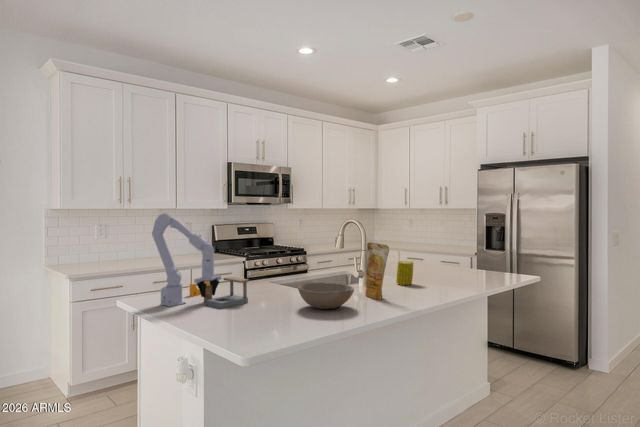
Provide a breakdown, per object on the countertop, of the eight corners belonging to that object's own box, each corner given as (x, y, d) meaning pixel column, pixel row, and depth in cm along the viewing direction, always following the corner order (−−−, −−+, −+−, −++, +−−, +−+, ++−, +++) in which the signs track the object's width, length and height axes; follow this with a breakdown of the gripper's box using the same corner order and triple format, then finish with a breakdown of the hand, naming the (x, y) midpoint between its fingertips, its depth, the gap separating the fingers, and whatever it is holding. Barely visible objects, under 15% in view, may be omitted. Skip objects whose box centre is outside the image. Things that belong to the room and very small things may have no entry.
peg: (207, 303, 214) (207, 286, 214) (202, 302, 216) (202, 285, 216) (213, 301, 217) (213, 285, 217) (208, 300, 219) (208, 284, 219)
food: (403, 285, 271) (415, 288, 263) (389, 282, 266) (400, 285, 257) (409, 261, 272) (420, 263, 263) (394, 257, 266) (405, 260, 258)
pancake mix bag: (372, 293, 238) (372, 241, 237) (390, 300, 220) (390, 244, 219) (361, 294, 235) (361, 242, 235) (378, 301, 217) (378, 245, 217)
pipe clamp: (205, 292, 242) (205, 280, 242) (210, 293, 240) (210, 281, 240) (187, 295, 233) (187, 283, 232) (192, 296, 230) (192, 284, 230)
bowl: (321, 299, 222) (321, 279, 222) (365, 306, 205) (365, 285, 205) (285, 308, 202) (285, 287, 202) (330, 317, 185) (330, 294, 185)
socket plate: (222, 308, 201) (222, 283, 201) (205, 304, 210) (205, 280, 210) (248, 302, 214) (248, 279, 214) (231, 299, 222) (231, 276, 222)
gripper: (200, 270, 208) (200, 299, 208) (224, 267, 219) (224, 294, 219) (191, 269, 213) (191, 297, 213) (216, 266, 224) (216, 292, 224)
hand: (208, 295), depth 216 cm, fingers open, 5 cm apart
